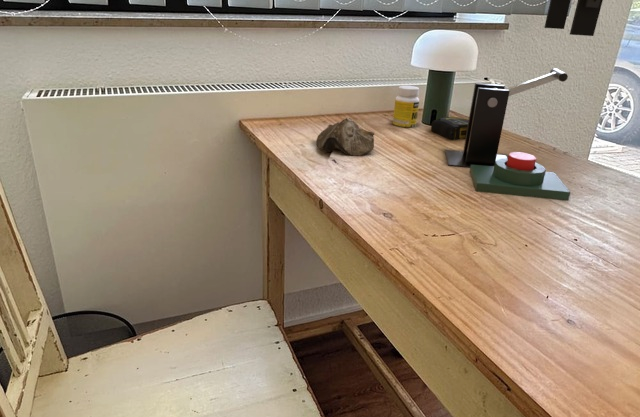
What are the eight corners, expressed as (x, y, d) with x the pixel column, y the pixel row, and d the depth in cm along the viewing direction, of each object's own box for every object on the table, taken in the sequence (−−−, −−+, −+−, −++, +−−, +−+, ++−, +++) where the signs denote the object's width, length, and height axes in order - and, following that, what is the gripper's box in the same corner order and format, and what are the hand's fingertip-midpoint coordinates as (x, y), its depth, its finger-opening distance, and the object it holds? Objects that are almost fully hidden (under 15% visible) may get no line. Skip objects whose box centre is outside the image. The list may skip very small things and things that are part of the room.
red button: (530, 165, 70) (532, 153, 69) (536, 173, 67) (539, 161, 66) (504, 162, 70) (506, 150, 70) (508, 170, 67) (511, 158, 66)
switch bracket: (504, 162, 82) (520, 84, 77) (513, 178, 75) (532, 94, 70) (443, 156, 84) (455, 80, 79) (447, 171, 77) (460, 88, 71)
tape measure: (428, 135, 96) (430, 116, 94) (457, 133, 98) (460, 115, 97) (448, 145, 90) (451, 125, 88) (479, 143, 92) (482, 123, 91)
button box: (551, 186, 73) (557, 160, 71) (566, 207, 66) (574, 179, 64) (468, 178, 74) (472, 152, 73) (474, 197, 67) (479, 170, 66)
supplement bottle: (413, 133, 96) (419, 90, 93) (389, 130, 98) (394, 87, 94) (417, 128, 101) (422, 86, 97) (394, 125, 102) (399, 84, 98)
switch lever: (559, 78, 75) (556, 63, 74) (569, 83, 70) (565, 67, 69) (480, 105, 78) (476, 91, 77) (484, 112, 74) (480, 97, 73)
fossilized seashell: (386, 142, 81) (344, 137, 89) (371, 109, 77) (328, 108, 85) (360, 172, 78) (319, 165, 86) (343, 140, 75) (301, 136, 82)
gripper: (552, -128, 73) (521, 24, 82) (615, -181, 50) (563, 36, 59) (606, -126, 72) (568, 27, 81) (694, -181, 49) (629, 40, 58)
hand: (566, 31), depth 70 cm, fingers open, 13 cm apart
